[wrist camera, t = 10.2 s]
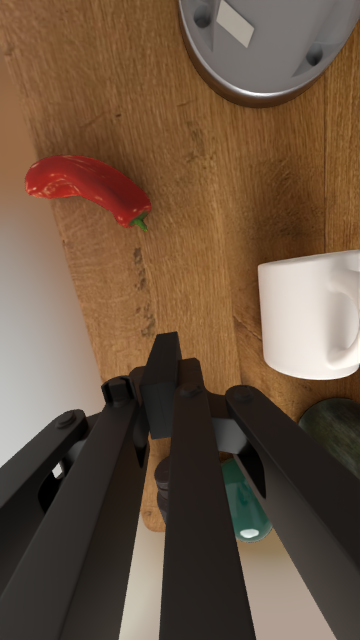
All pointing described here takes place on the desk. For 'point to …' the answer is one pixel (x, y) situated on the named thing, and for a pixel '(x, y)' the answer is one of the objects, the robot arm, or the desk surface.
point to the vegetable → (89, 186)
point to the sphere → (244, 505)
